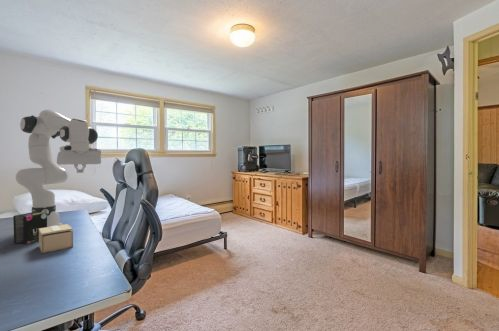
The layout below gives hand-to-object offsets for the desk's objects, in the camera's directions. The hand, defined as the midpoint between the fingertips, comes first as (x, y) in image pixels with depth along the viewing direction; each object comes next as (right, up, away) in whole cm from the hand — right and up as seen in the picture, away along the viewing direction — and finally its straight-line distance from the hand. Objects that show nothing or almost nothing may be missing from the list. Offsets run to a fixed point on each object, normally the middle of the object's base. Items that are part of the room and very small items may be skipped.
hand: (80, 172), depth 135 cm
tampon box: (-25, -37, -2) cm, 45 cm away
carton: (-4, -37, -12) cm, 39 cm away
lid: (-4, -29, -12) cm, 32 cm away
